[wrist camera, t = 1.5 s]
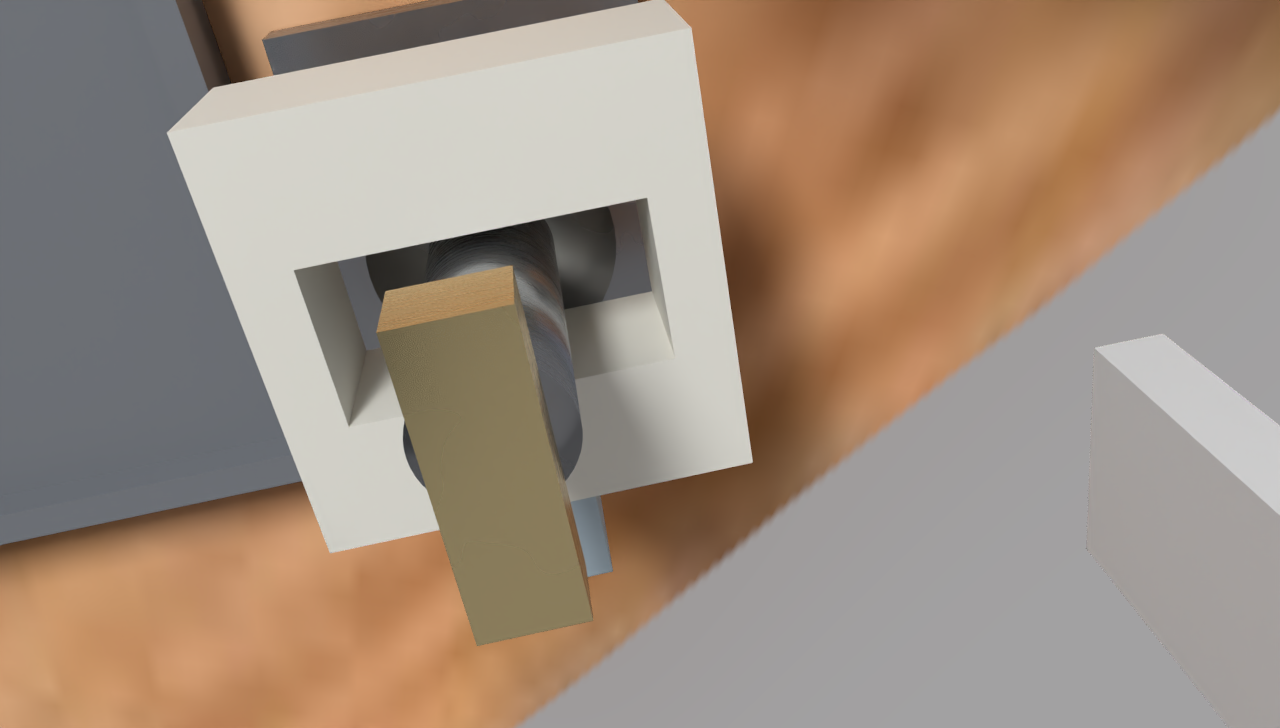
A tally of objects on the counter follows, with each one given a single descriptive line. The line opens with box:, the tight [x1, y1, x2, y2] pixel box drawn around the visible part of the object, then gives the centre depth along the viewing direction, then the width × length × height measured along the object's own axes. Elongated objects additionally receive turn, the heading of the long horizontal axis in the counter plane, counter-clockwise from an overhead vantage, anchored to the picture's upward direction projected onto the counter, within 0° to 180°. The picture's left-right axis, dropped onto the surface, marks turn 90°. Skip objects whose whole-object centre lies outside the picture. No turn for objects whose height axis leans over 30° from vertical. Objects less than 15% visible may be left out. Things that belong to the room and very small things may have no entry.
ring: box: [167, 0, 753, 577], centre depth 20 cm, size 8×10×3 cm
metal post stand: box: [262, 0, 652, 646], centre depth 19 cm, size 8×8×14 cm
